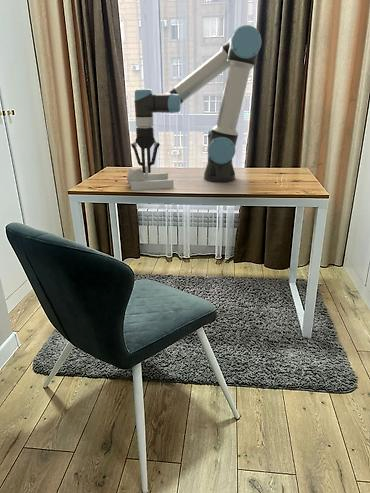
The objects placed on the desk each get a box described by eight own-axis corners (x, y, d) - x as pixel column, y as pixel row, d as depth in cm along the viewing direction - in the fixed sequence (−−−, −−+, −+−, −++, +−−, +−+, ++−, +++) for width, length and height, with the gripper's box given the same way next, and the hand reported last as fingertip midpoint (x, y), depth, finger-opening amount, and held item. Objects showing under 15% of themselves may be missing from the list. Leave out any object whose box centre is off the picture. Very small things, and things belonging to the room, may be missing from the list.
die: (140, 190, 178) (149, 171, 178) (122, 181, 176) (132, 162, 177) (139, 192, 186) (148, 174, 186) (122, 183, 184) (131, 165, 185)
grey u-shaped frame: (167, 179, 193) (167, 172, 192) (173, 187, 180) (173, 179, 178) (128, 182, 189) (127, 175, 188) (131, 190, 176) (130, 182, 175)
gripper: (157, 125, 179) (159, 177, 188) (129, 126, 176) (132, 179, 186) (160, 127, 172) (162, 181, 181) (130, 128, 170) (133, 182, 179)
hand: (146, 180), depth 184 cm, fingers closed
